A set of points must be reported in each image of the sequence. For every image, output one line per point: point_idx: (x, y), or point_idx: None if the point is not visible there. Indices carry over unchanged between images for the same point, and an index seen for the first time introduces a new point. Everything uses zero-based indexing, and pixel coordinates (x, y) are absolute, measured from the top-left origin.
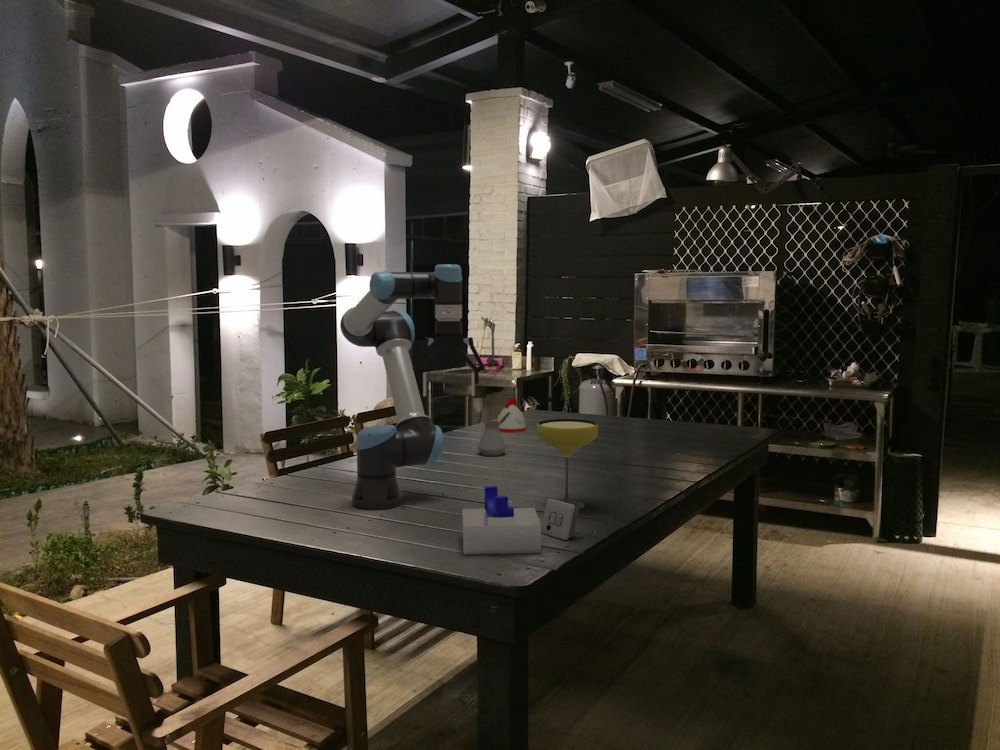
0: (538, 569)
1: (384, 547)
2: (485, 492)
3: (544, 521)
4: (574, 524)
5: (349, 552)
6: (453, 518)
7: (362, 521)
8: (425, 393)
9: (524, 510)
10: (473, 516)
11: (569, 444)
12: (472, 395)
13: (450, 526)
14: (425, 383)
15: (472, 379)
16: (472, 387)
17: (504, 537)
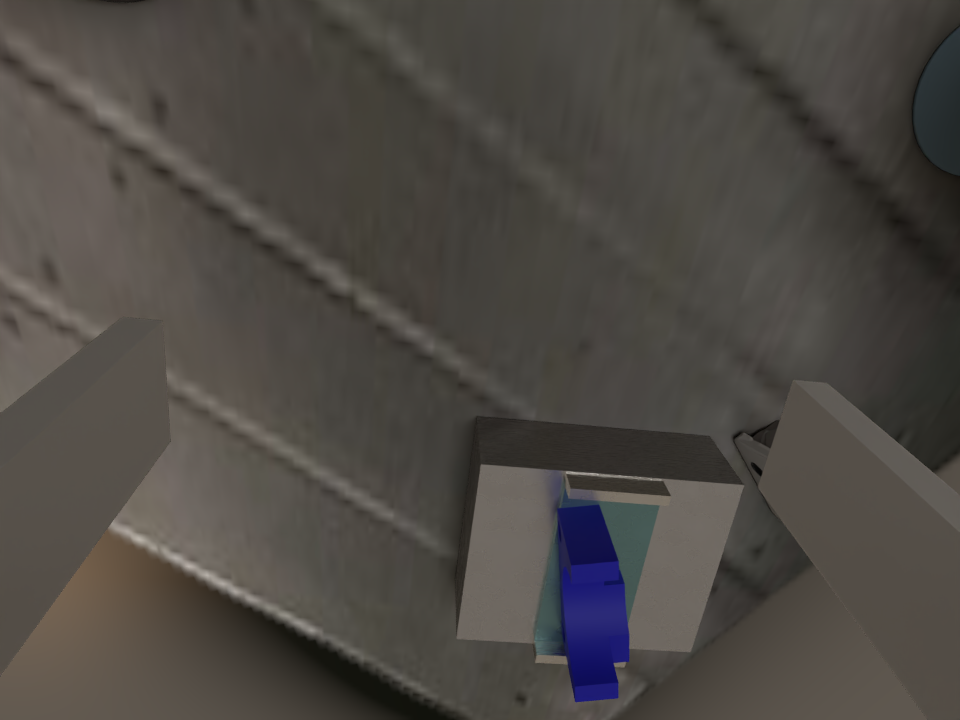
0: (619, 684)
1: (221, 496)
2: (568, 561)
3: (758, 458)
4: None
5: (119, 524)
6: (469, 210)
7: (88, 191)
8: (149, 459)
9: (697, 509)
10: (504, 552)
11: None
12: (767, 491)
13: (445, 315)
14: (82, 553)
15: (886, 651)
16: (818, 557)
17: None
